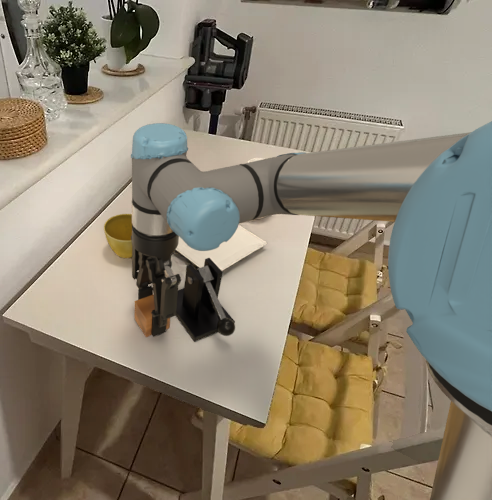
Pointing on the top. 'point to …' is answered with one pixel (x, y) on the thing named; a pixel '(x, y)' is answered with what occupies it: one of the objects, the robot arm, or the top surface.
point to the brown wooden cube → (145, 314)
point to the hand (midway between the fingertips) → (151, 322)
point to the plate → (224, 249)
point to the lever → (216, 303)
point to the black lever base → (199, 303)
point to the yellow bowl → (120, 234)
